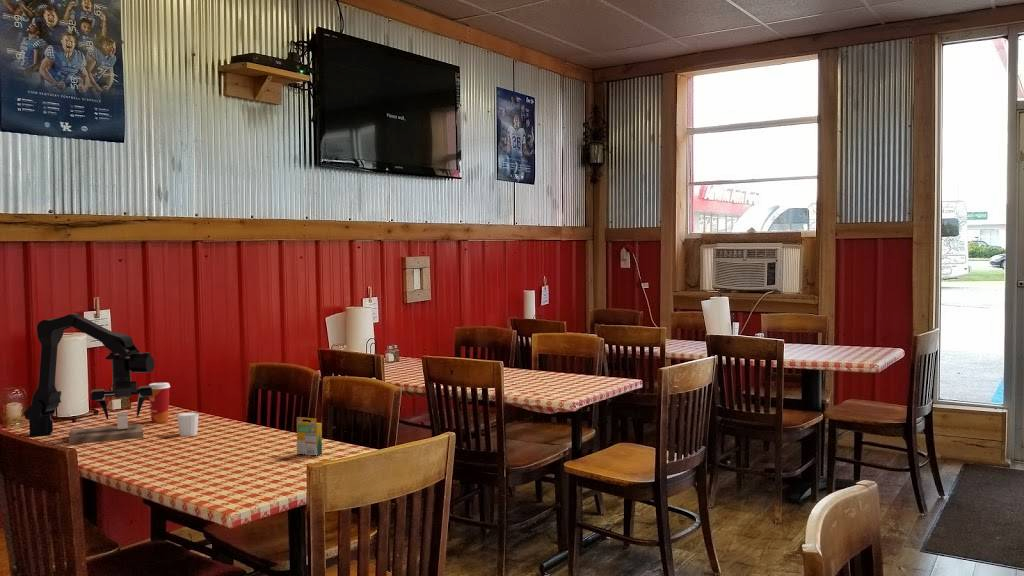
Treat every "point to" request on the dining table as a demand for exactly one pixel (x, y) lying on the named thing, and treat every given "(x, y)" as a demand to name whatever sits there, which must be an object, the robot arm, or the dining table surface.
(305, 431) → the crayon box
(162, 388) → the paper cup
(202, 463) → the dining table surface
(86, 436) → the fader console
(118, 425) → the fader tab
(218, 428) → the dining table surface
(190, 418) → the white tapered cup
